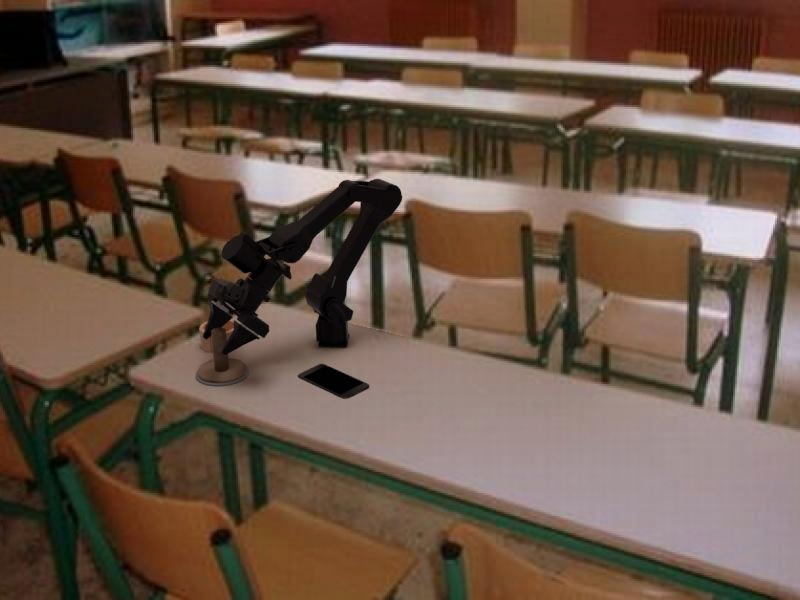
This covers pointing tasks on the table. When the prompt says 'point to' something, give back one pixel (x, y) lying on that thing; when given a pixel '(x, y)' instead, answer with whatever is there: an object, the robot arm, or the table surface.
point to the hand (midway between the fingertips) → (213, 346)
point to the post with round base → (221, 362)
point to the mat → (223, 383)
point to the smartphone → (333, 381)
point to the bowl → (207, 343)
